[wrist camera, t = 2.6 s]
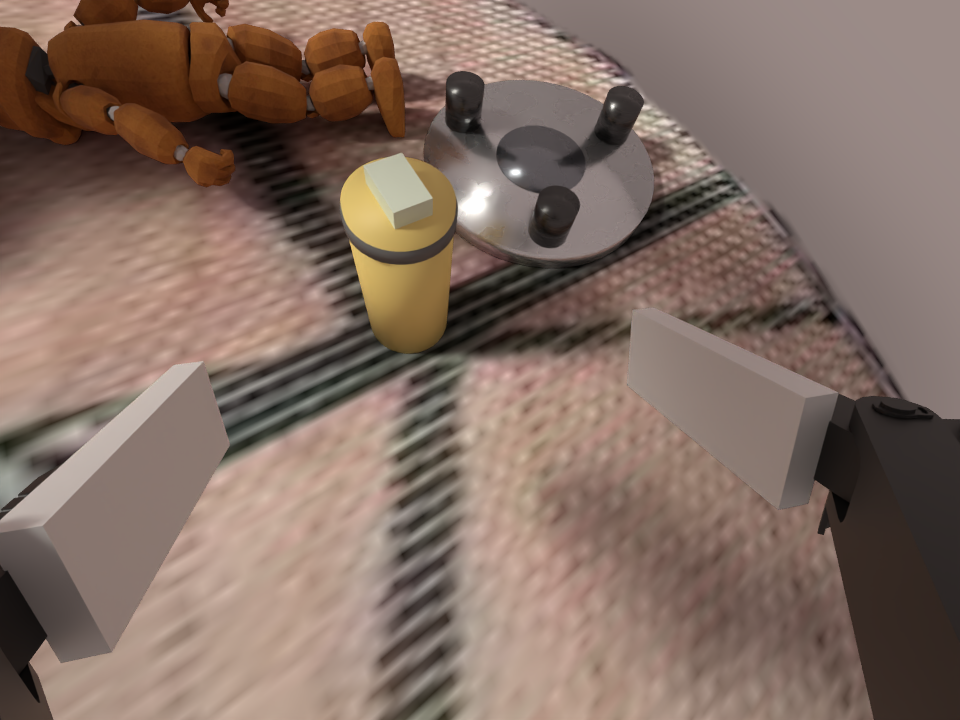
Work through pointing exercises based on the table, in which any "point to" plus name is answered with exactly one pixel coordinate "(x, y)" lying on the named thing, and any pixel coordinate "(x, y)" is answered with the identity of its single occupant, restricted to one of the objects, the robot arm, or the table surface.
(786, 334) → the table surface
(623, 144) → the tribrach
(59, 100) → the toy
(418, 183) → the travel mug
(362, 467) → the table surface
